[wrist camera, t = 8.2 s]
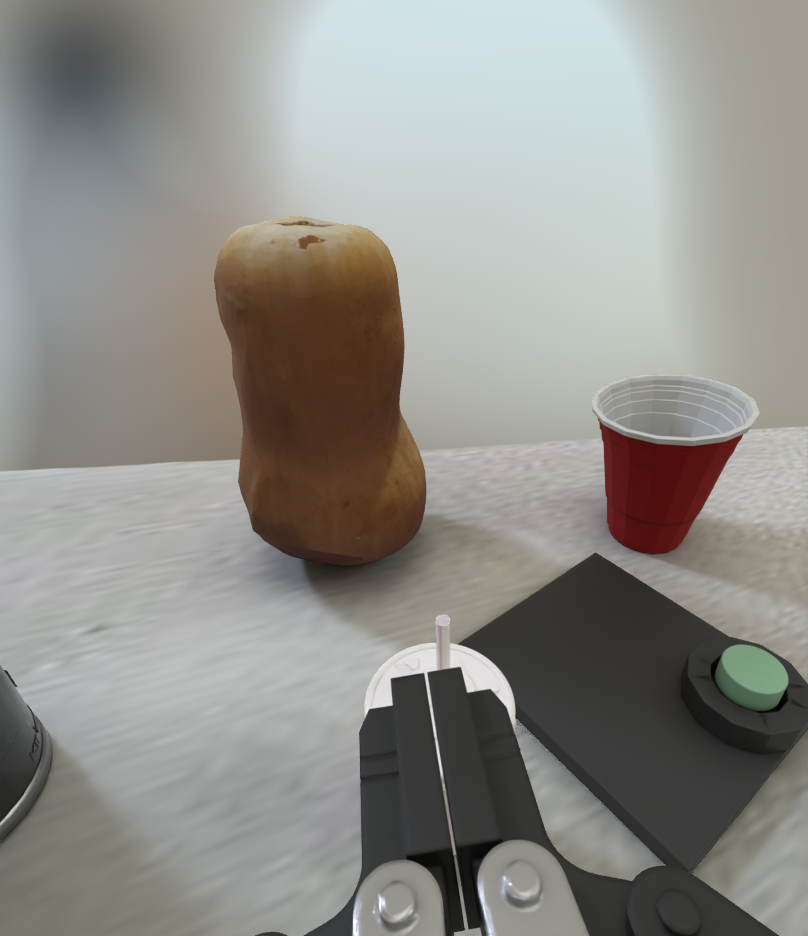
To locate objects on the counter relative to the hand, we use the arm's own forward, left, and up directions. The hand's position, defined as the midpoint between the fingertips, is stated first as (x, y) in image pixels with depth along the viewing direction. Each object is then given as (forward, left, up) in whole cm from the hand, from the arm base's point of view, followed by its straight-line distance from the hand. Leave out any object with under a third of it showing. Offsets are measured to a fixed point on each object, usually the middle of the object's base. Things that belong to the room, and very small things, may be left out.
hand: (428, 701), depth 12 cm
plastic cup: (+32, +13, -20) cm, 40 cm away
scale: (+19, +4, -20) cm, 28 cm away
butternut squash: (+12, +26, -20) cm, 35 cm away
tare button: (+22, -1, -18) cm, 28 cm away
